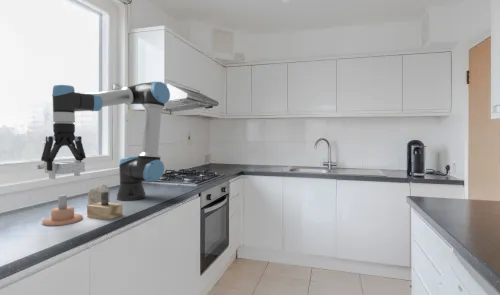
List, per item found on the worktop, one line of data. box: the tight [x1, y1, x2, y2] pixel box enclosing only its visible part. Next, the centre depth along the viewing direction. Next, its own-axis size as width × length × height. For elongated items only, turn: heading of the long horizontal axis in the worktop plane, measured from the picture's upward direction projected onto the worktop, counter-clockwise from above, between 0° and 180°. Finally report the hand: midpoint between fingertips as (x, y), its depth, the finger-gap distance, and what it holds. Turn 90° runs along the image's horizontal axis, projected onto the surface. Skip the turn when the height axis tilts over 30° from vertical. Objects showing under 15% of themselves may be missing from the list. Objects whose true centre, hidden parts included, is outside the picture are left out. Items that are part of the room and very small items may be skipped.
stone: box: [87, 183, 111, 205], centre depth 143 cm, size 10×5×12 cm, turn 142°
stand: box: [86, 192, 123, 221], centre depth 129 cm, size 8×12×10 cm, turn 67°
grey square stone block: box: [44, 160, 86, 175], centre depth 122 cm, size 10×10×4 cm
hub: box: [42, 194, 84, 227], centre depth 122 cm, size 14×14×10 cm
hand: (65, 177), depth 122 cm, fingers closed on grey square stone block, 10 cm apart
